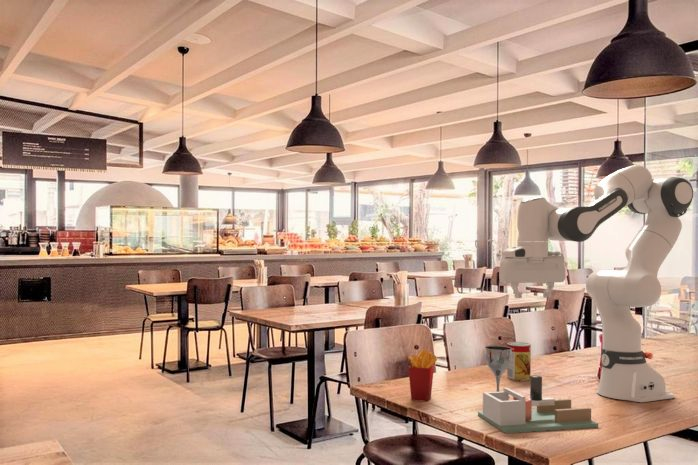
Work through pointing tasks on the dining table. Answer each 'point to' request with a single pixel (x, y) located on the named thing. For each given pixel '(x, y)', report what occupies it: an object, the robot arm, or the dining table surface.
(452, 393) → the dining table surface
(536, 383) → the kicker
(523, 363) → the canned food
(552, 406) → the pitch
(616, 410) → the dining table surface
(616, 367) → the robot arm
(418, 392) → the french fries
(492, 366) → the wine glass
